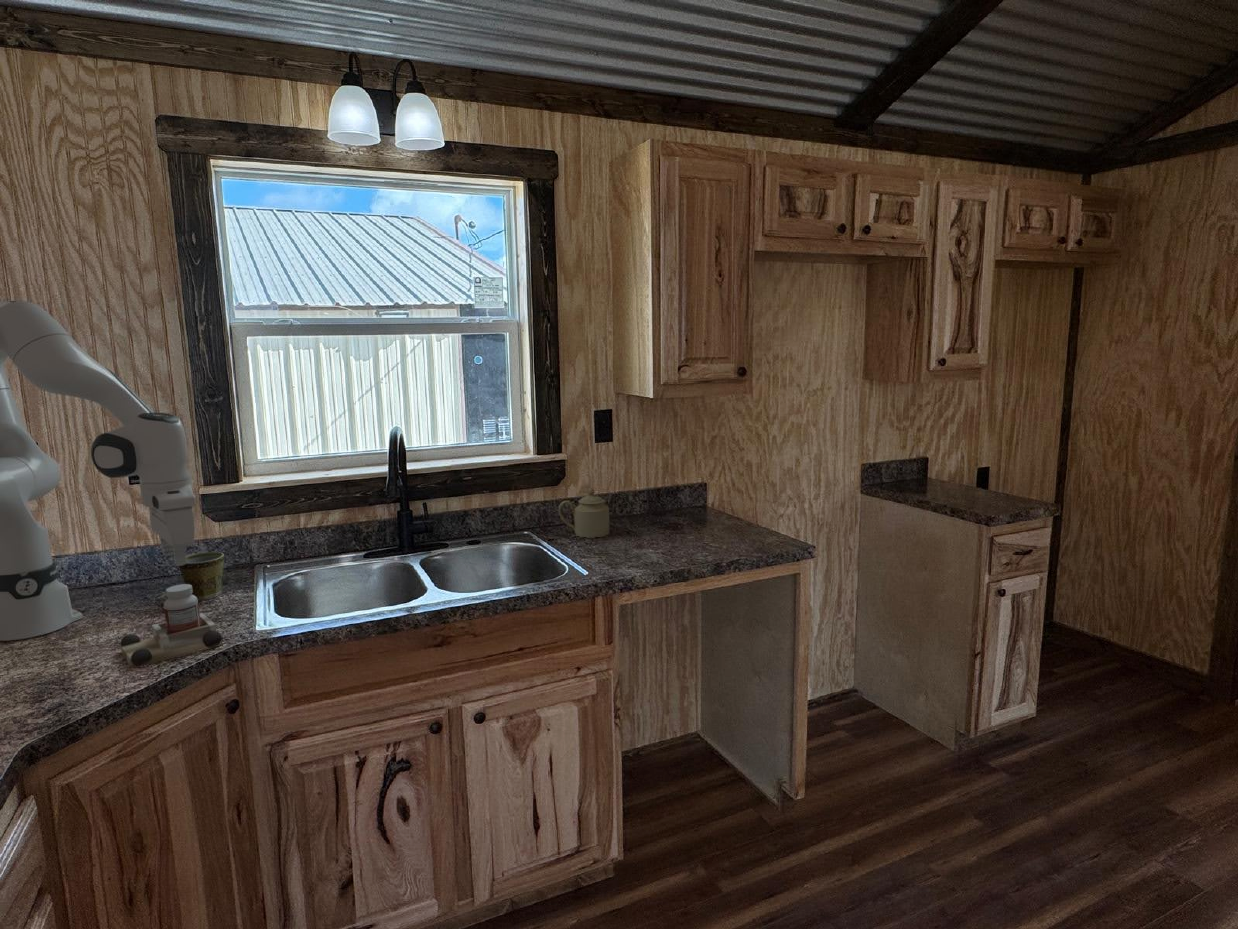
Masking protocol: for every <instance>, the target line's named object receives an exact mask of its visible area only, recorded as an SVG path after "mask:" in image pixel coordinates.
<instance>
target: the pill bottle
mask: <svg viewBox="0 0 1238 929" xmlns="http://www.w3.org/2000/svg"><path fill="white" fill-rule="evenodd" d="M192 591H193V590H192V585H190V584H185V583H184V584H183V583H182V584H176V585H172V586H170V587H167V588H166V589H165V594H166V597H167V599H166V600H164V602H163V613H164V619H165V622H166V628H167V635H169V634H173V633H177V632H181V631H185V630H189V629H193V628H197V627H201V622H200V607H199V600H198V599H197V597H196V596H194V595H192Z"/></svg>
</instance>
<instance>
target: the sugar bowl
mask: <svg viewBox="0 0 1238 929" xmlns="http://www.w3.org/2000/svg"><path fill="white" fill-rule="evenodd" d="M587 493H588V495H586V496H585V495H584V496H583V497H581V498H580V499H579V500H578V501H577V502H578V505H577V506H575V505H574V504H573V503H572V502H571V501H570V500H563V501H562V502H561V503H559V505H558V515H559V516H560V518H561V520H562V521H563V522H564V523H565V525H567V526H569V527H570V528H572V529H573V531H574V534H576V535H575V536H576V537H578V536H579V538H582V537H586V538H585V539H596V538H595V537H599V538H604V537H607V536H608V535H609V534H610V508H609V506H608V505H606V504H605V503H604V502H606V500H605V499H604V498H603V497H600V496H598V495H595V490H594V488H593V487H590V488H588V492H587ZM566 504H567V505H568V506H569V507H570V509H571V512H572V516H573V518H574V519H573V520H574V521H573V522H574V523H573V524H572V523H571V522H570V521H569V520H567V519H566V518H565V516H564V514H563V510H562V508H563V506H564V505H566ZM606 535H607V536H606Z"/></svg>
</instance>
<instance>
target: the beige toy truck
mask: <svg viewBox="0 0 1238 929" xmlns="http://www.w3.org/2000/svg"><path fill="white" fill-rule="evenodd" d="M199 614H200V622H201V627H197V628H193V629H189V630H185V631H181V632H177V633H173V634H169V635H167V628H166V621H164V622H163V621H162V622H159V623H155V624H151V630H152V637H150V638H147V639H143V640H141V638H140V637H139V636H138V635H137V634H134V633H130V634H127V635H125V636H124V637H122V638H121V641H120V650H121V654H122V655H123V657H124V659H125V660H126V661H127V662H128V664H129V666H130V665H131V666H130V667H131V668H132V669H133V668H135V669H138V668H142V667H145V666H144V665H146V666H148V665H147V664H150V665H153V664H156V663H155V662H157V663H159V662H158V661H161V662H165V661H168V660H172V659H175V658H180V657H183V656H187V655H189V654H190V655H191V654H194V653H198V652H201V651H205V650H209V649H212V648H216V647H221V646H223V639H222V634H221V633H220V632H218V631H217V628H216V626H217V625H216V623H214V622H213V621H212V620H211V619H210V618H209V617H208V616H207V615H206V614H205V613H204V612H199ZM141 666H142V667H141ZM137 667H138V668H137Z"/></svg>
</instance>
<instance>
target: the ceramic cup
mask: <svg viewBox="0 0 1238 929" xmlns="http://www.w3.org/2000/svg"><path fill="white" fill-rule="evenodd" d="M185 557H186V564H185V565H182V566H178V568H179V571H180V573H181V576H182V579H183V582H184V584H190V585H192V590H193V591H192V595H194V596H196V597H197V599H198V601H206V600H205V599H207V600H211V599H215V598H217V597H218V596H220V595H221V594H222V585H223V584H222V583H223V571H224V564H225V560H224V559H225V555H224V553H223V552H220V551H204V552H196V553H192V554H188V555H186V556H185ZM219 594H220V595H219ZM216 596H217V597H216ZM214 597H215V598H214ZM203 599H204V600H203Z"/></svg>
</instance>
